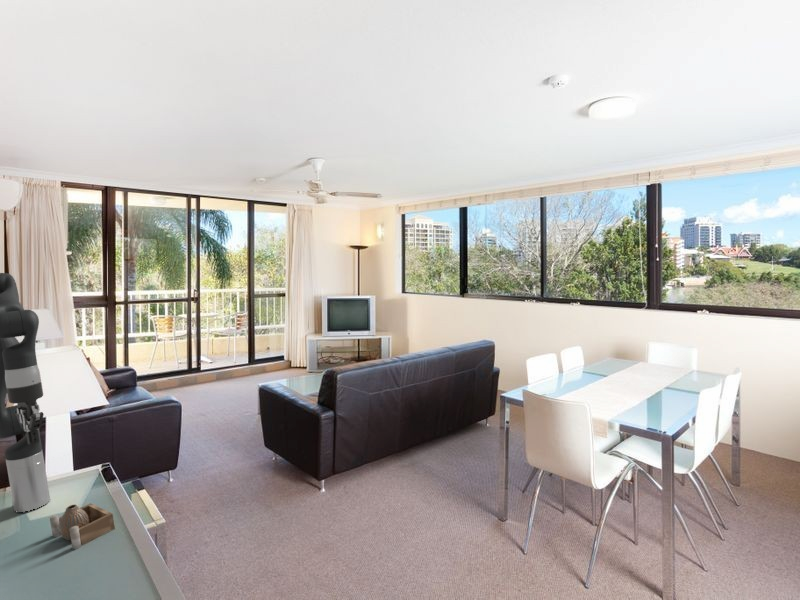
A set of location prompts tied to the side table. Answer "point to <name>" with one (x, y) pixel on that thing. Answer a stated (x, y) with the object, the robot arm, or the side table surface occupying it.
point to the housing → (86, 526)
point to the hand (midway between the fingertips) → (33, 443)
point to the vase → (72, 520)
